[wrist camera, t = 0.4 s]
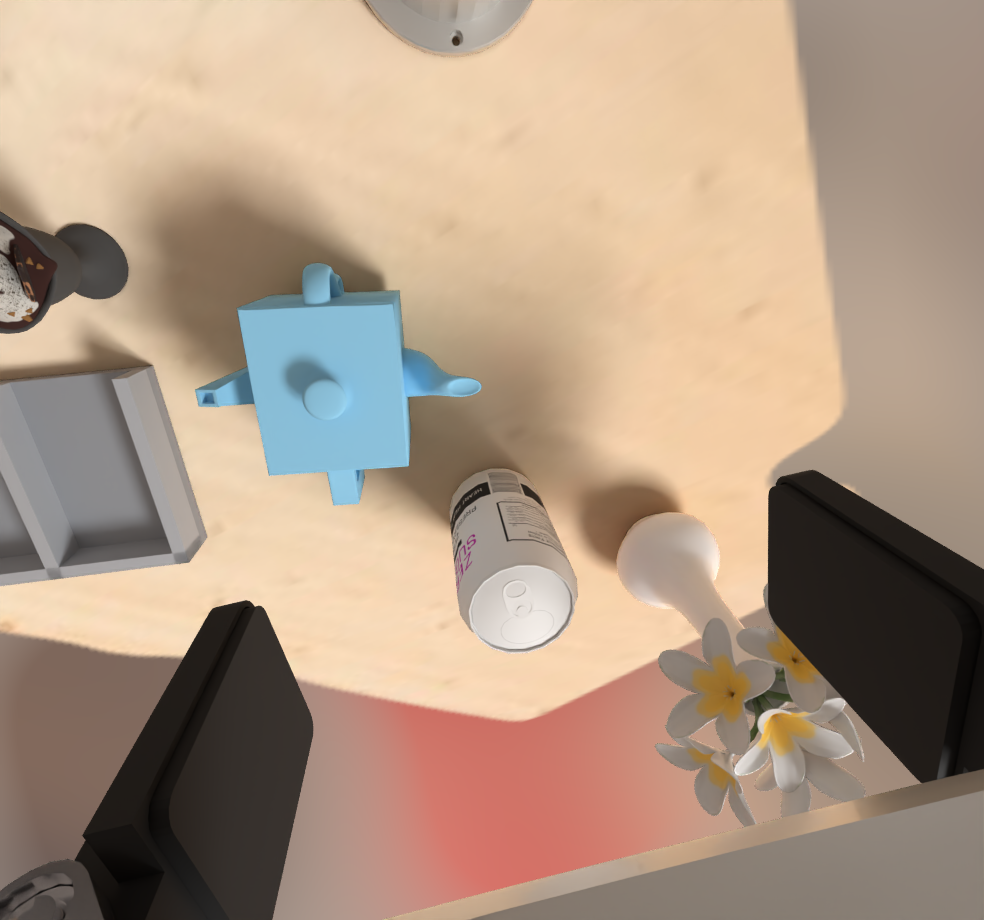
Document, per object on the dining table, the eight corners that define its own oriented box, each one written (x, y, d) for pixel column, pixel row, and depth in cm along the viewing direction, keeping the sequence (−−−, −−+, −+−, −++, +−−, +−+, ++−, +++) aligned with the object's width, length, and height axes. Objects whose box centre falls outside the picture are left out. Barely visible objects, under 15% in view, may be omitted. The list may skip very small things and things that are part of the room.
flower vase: (761, 477, 52) (1033, 670, 29) (658, 627, 57) (818, 891, 34) (647, 424, 48) (852, 594, 25) (549, 589, 54) (645, 853, 31)
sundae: (19, 269, 38) (-209, 287, 24) (66, 188, 37) (-148, 159, 23) (111, 331, 40) (-50, 379, 27) (159, 257, 39) (15, 268, 25)
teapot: (216, 262, 40) (142, 270, 29) (465, 255, 41) (479, 260, 31) (256, 464, 46) (207, 531, 35) (473, 450, 47) (487, 510, 37)
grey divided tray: (-132, 393, 40) (-188, 409, 36) (153, 365, 42) (126, 378, 38) (-40, 567, 46) (-81, 596, 42) (207, 537, 47) (189, 562, 44)
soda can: (548, 530, 51) (595, 639, 37) (463, 556, 51) (479, 674, 37) (527, 453, 48) (569, 540, 34) (436, 481, 48) (442, 579, 34)
